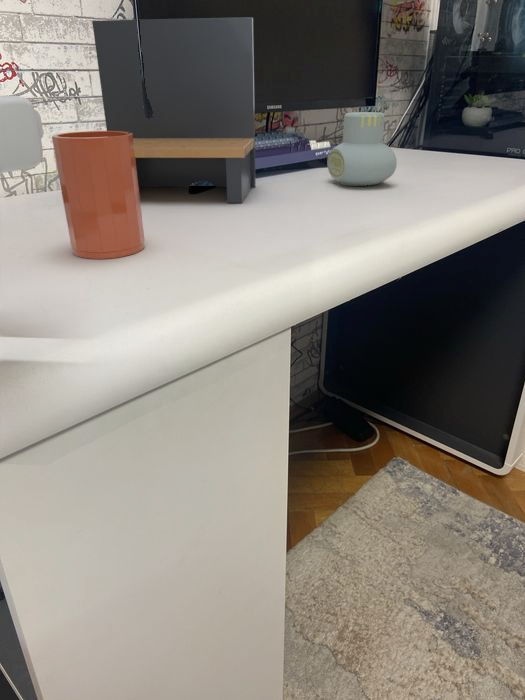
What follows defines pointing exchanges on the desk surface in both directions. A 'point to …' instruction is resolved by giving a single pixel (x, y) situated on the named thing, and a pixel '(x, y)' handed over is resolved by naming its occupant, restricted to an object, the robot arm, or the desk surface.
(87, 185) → the cup
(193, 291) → the desk surface
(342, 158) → the air freshener
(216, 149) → the shelf rack
